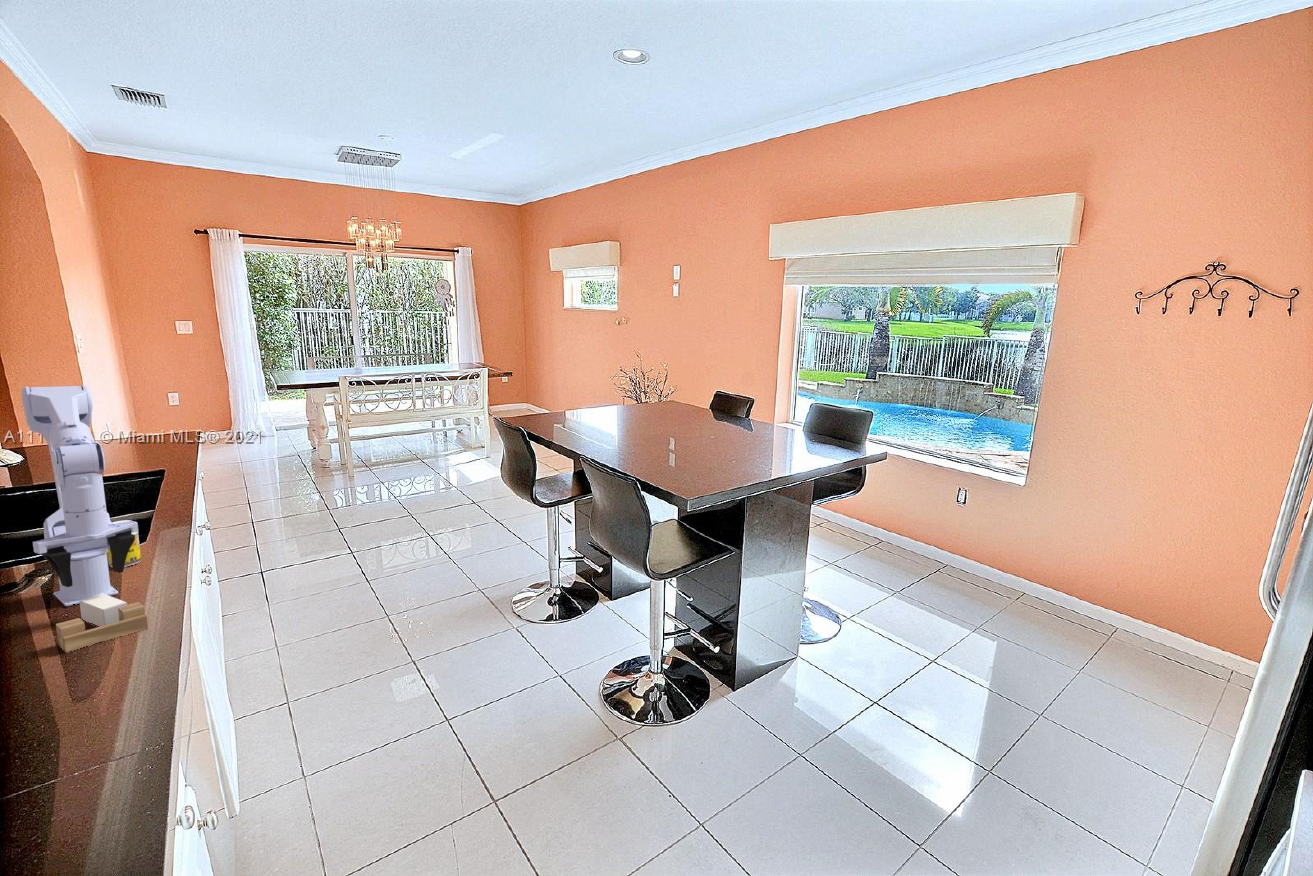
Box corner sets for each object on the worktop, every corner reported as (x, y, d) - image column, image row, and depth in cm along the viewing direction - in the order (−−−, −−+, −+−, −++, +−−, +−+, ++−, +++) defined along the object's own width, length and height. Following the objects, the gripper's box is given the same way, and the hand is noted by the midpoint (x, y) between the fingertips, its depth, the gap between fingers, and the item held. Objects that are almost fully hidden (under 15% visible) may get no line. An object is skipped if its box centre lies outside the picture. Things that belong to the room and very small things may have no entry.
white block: (81, 620, 113) (79, 600, 112) (104, 612, 116) (102, 593, 115) (106, 630, 109) (103, 609, 109) (129, 622, 112) (127, 602, 112)
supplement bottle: (107, 570, 135) (102, 527, 134) (112, 562, 140) (107, 520, 138) (139, 566, 138) (134, 524, 137) (143, 558, 143) (138, 517, 141)
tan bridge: (58, 645, 103) (55, 624, 103) (140, 621, 113) (138, 602, 112) (65, 653, 101) (62, 631, 101) (148, 628, 110) (146, 608, 110)
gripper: (43, 522, 102) (53, 597, 104) (143, 502, 115) (151, 569, 117) (23, 516, 105) (33, 589, 107) (123, 497, 118) (131, 563, 120)
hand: (93, 578), depth 112 cm, fingers open, 7 cm apart
